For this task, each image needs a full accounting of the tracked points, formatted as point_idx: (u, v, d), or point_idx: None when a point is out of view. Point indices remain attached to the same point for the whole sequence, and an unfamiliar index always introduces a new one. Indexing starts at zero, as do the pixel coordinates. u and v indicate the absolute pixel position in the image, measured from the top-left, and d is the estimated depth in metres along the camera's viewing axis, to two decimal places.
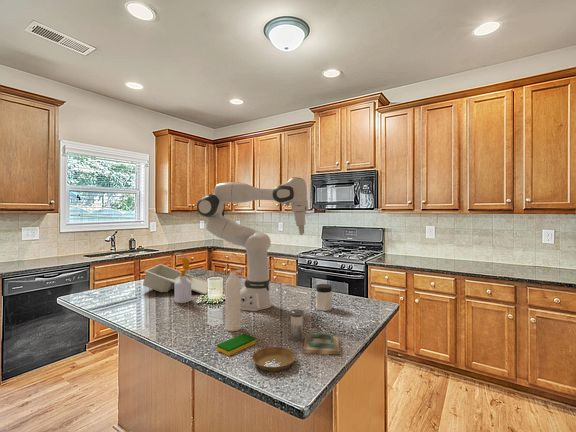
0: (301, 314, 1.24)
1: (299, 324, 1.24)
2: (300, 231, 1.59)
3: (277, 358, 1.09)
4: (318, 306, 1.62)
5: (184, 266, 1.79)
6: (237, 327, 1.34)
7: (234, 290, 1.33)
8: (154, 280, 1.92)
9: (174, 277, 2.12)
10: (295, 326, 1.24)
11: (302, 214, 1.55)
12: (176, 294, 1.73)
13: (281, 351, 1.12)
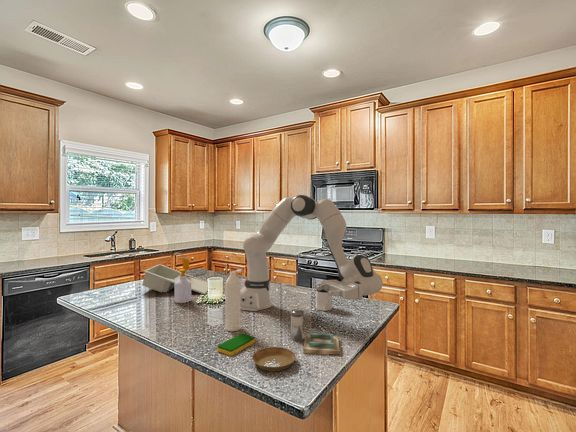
0: (301, 314, 1.24)
1: (299, 324, 1.24)
2: (334, 292, 1.27)
3: (277, 358, 1.09)
4: (318, 306, 1.62)
5: (184, 266, 1.79)
6: (237, 327, 1.34)
7: (234, 290, 1.33)
8: (153, 280, 1.92)
9: (173, 277, 2.12)
10: (295, 326, 1.24)
11: (357, 297, 1.27)
12: (176, 294, 1.73)
13: (281, 351, 1.12)
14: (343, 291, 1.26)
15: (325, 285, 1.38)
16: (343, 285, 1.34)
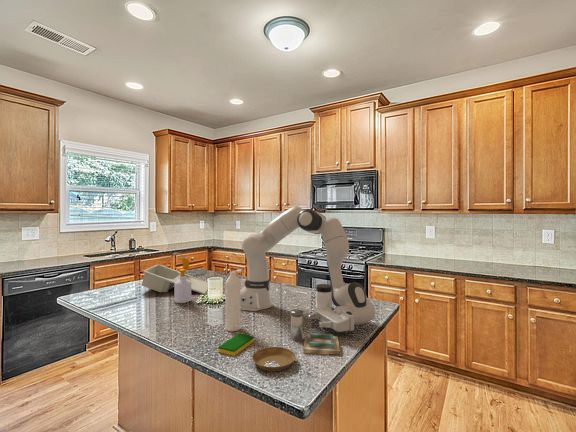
0: (301, 314, 1.24)
1: (299, 324, 1.24)
2: (324, 324, 1.25)
3: (277, 358, 1.09)
4: (318, 306, 1.62)
5: (184, 266, 1.79)
6: (237, 327, 1.34)
7: (234, 290, 1.33)
8: (153, 280, 1.92)
9: (172, 277, 2.12)
10: (295, 326, 1.24)
11: (348, 329, 1.26)
12: (176, 294, 1.73)
13: (281, 351, 1.12)
14: (334, 323, 1.24)
15: (317, 314, 1.36)
16: (335, 315, 1.32)
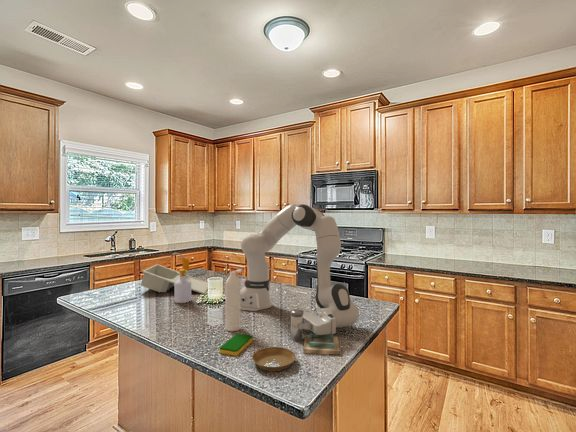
0: (301, 314, 1.24)
1: (299, 323, 1.24)
2: (303, 325, 1.23)
3: (277, 358, 1.09)
4: (318, 306, 1.62)
5: (184, 266, 1.79)
6: (237, 327, 1.34)
7: (234, 290, 1.33)
8: (152, 281, 1.92)
9: (171, 277, 2.12)
10: (295, 326, 1.24)
11: (329, 332, 1.22)
12: (176, 294, 1.73)
13: (281, 351, 1.12)
14: (314, 326, 1.20)
15: None
16: (316, 318, 1.28)
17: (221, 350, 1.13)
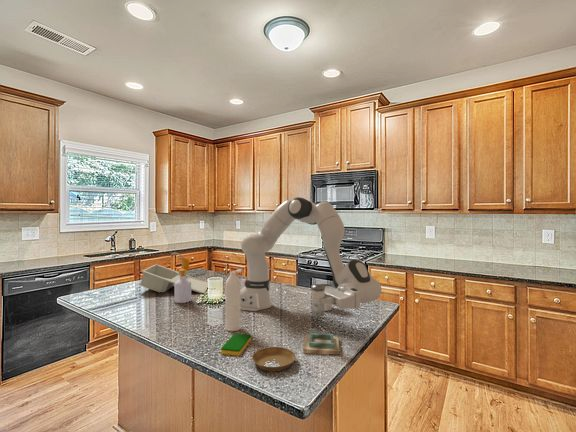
0: (323, 288, 1.18)
1: None
2: (325, 300, 1.17)
3: (277, 358, 1.09)
4: None
5: (184, 266, 1.79)
6: (237, 327, 1.34)
7: (234, 290, 1.33)
8: (151, 280, 1.92)
9: (170, 277, 2.12)
10: (317, 301, 1.18)
11: (353, 306, 1.16)
12: (176, 294, 1.73)
13: (281, 351, 1.12)
14: (338, 300, 1.14)
15: None
16: (338, 292, 1.22)
17: (223, 351, 1.13)
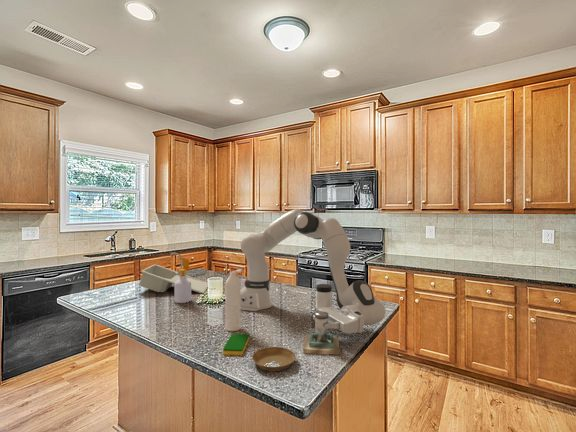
0: (326, 316, 1.17)
1: None
2: (331, 325, 1.15)
3: (277, 358, 1.09)
4: (318, 306, 1.62)
5: (184, 266, 1.79)
6: (237, 327, 1.34)
7: (234, 290, 1.33)
8: (151, 281, 1.92)
9: (169, 277, 2.12)
10: (320, 329, 1.17)
11: (357, 330, 1.15)
12: (176, 294, 1.73)
13: (281, 351, 1.12)
14: (342, 324, 1.13)
15: None
16: (342, 315, 1.21)
17: (225, 351, 1.12)
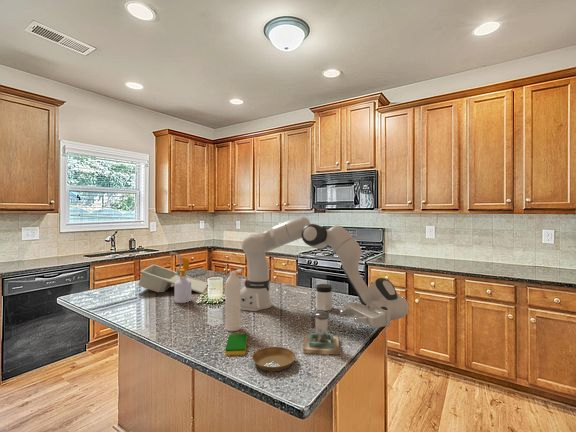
0: (327, 316, 1.17)
1: (325, 326, 1.17)
2: (360, 319, 1.20)
3: (277, 358, 1.09)
4: (318, 306, 1.62)
5: (184, 266, 1.79)
6: (237, 327, 1.34)
7: (234, 290, 1.33)
8: (150, 281, 1.91)
9: (168, 277, 2.12)
10: (320, 329, 1.17)
11: (384, 324, 1.20)
12: (176, 294, 1.73)
13: (281, 351, 1.12)
14: (370, 318, 1.19)
15: (349, 309, 1.31)
16: (368, 310, 1.27)
17: (227, 352, 1.12)
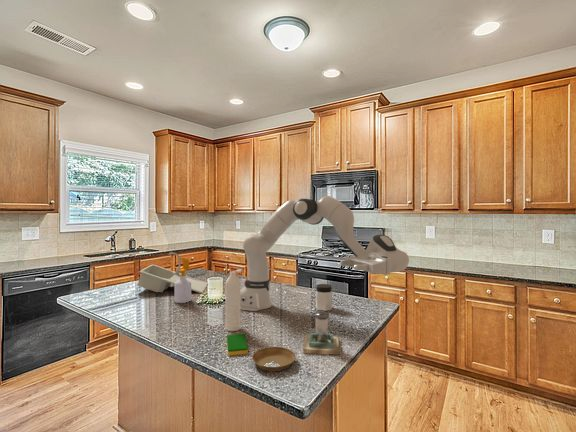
0: (327, 316, 1.17)
1: (325, 326, 1.17)
2: (360, 266, 1.20)
3: (277, 358, 1.09)
4: (318, 306, 1.62)
5: (184, 266, 1.79)
6: (237, 327, 1.34)
7: (234, 290, 1.33)
8: (149, 281, 1.91)
9: (167, 277, 2.12)
10: (320, 329, 1.17)
11: (385, 271, 1.20)
12: (176, 294, 1.73)
13: (281, 351, 1.12)
14: (371, 265, 1.19)
15: (349, 261, 1.31)
16: (369, 260, 1.27)
17: (230, 352, 1.12)
